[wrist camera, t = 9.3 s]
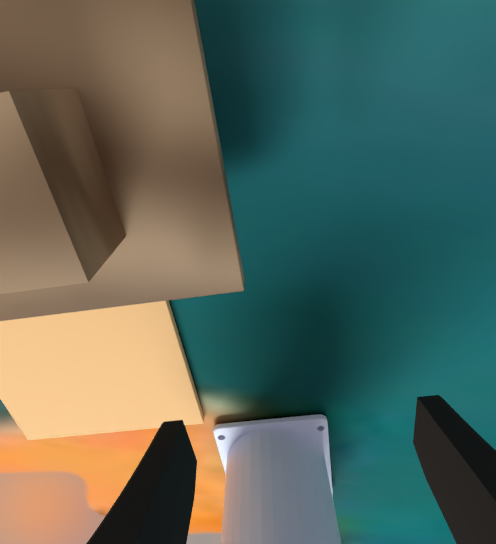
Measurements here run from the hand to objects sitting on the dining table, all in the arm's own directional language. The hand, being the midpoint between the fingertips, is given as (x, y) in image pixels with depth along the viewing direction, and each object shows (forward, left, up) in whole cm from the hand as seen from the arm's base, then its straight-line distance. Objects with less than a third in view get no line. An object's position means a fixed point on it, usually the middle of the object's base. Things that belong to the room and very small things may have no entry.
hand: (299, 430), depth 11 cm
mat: (-4, +13, -10) cm, 17 cm away
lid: (+8, +7, -6) cm, 12 cm away
